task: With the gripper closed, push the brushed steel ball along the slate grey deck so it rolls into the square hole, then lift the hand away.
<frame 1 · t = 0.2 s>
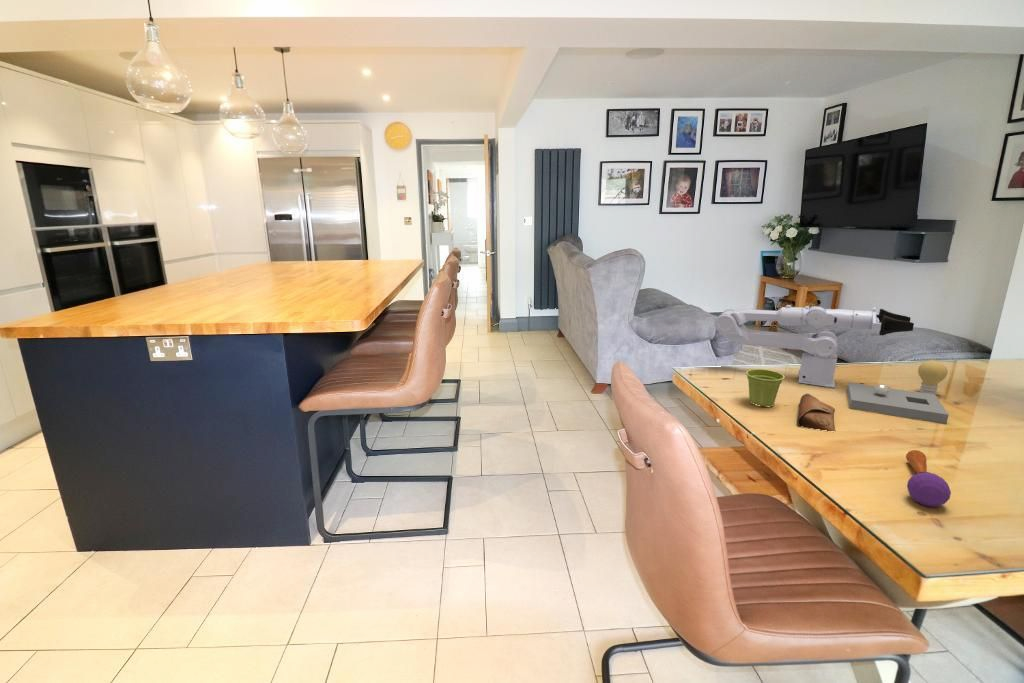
hand: (911, 323, 135), 21 cm above the table, tool horizontal, fingers open, 7 cm apart
light bulb: (927, 394, 141), on the table
hole deck: (892, 405, 132), on the table
sunglasses case: (816, 419, 126), on the table
purple maraca: (920, 487, 94), on the table
steel ball: (881, 389, 133), point 4 cm above the table, touching hole deck
plant pot: (761, 404, 135), on the table
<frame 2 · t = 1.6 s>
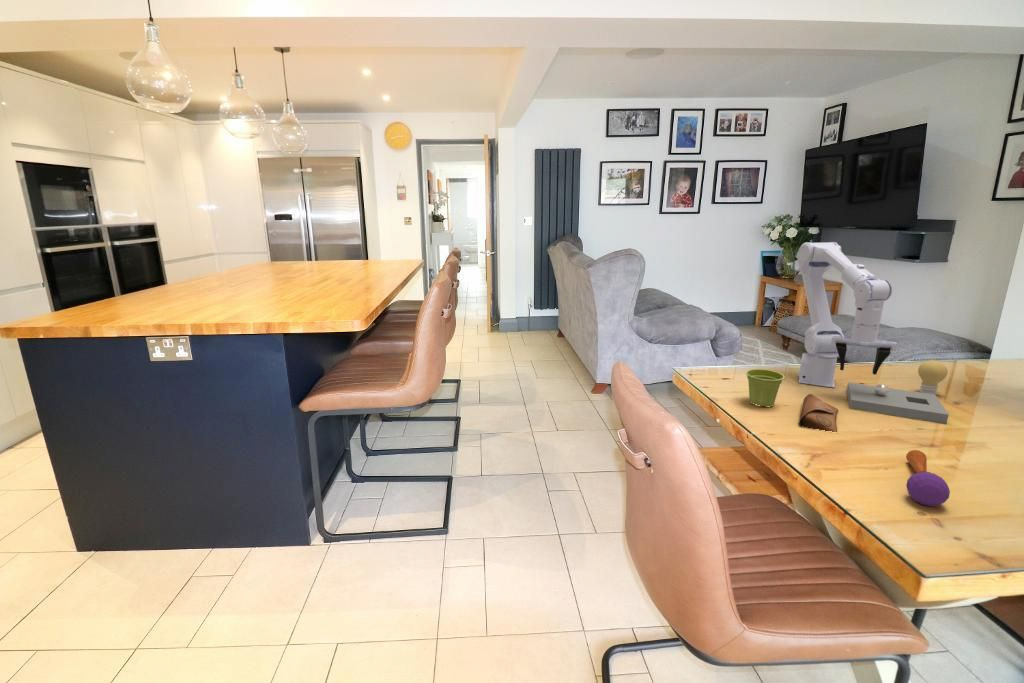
hand: (857, 371, 135), 8 cm above the table, tool pointing down, fingers open, 7 cm apart
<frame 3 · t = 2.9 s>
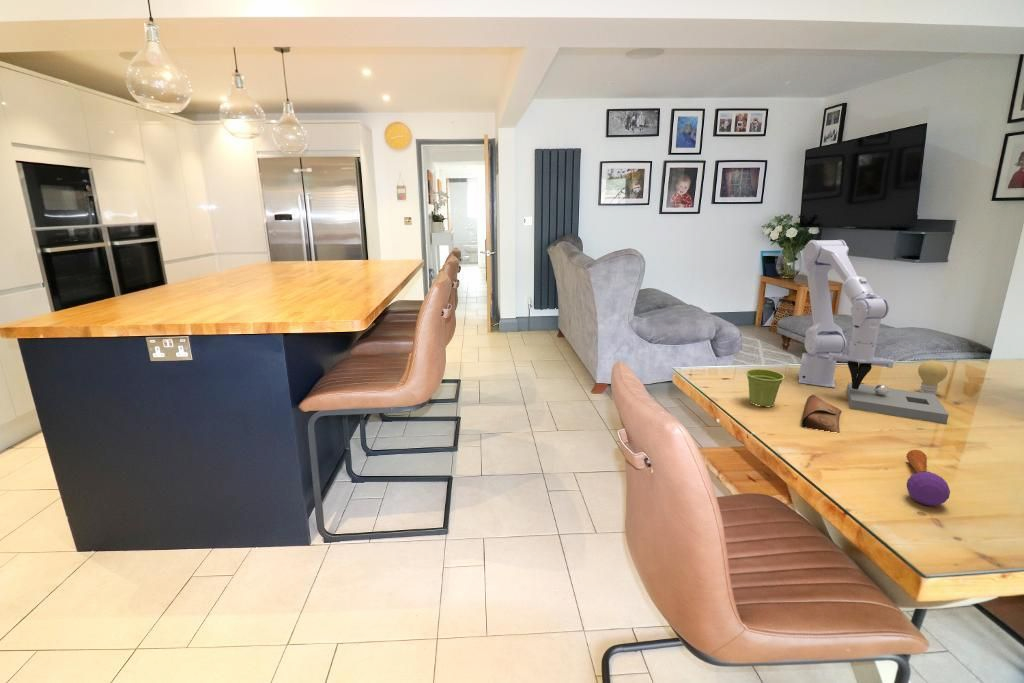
hand: (854, 387, 136), 4 cm above the table, tool pointing down, fingers closed
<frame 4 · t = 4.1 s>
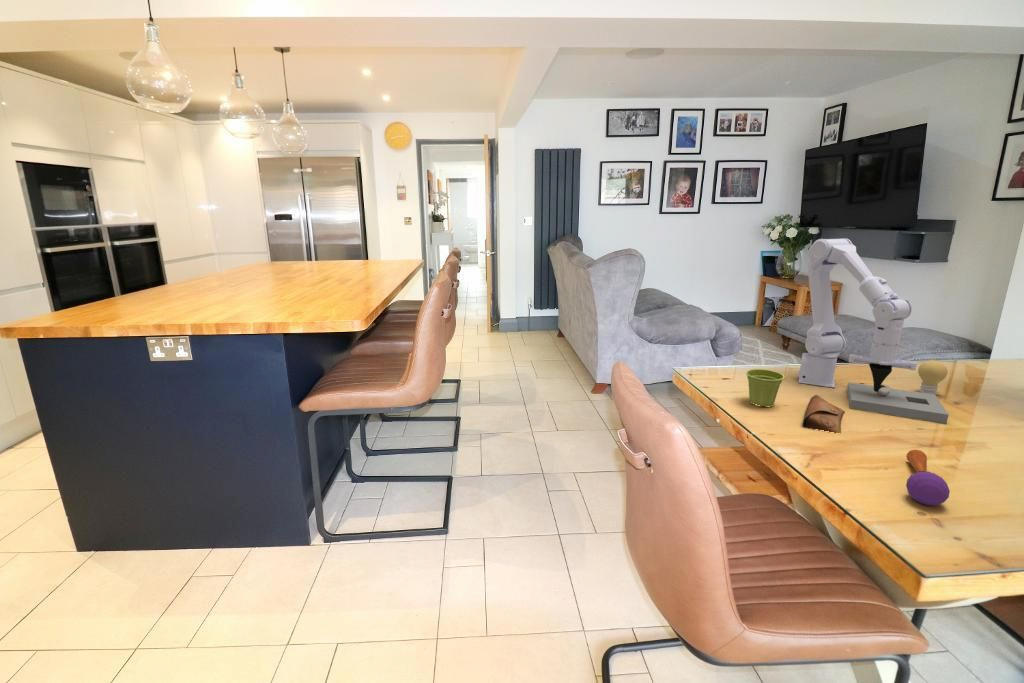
hand: (875, 390, 133), 4 cm above the table, tool pointing down, fingers closed, pressing on steel ball
steel ball: (883, 390, 133), point 4 cm above the table, tilted 14°, touching gripper, hole deck
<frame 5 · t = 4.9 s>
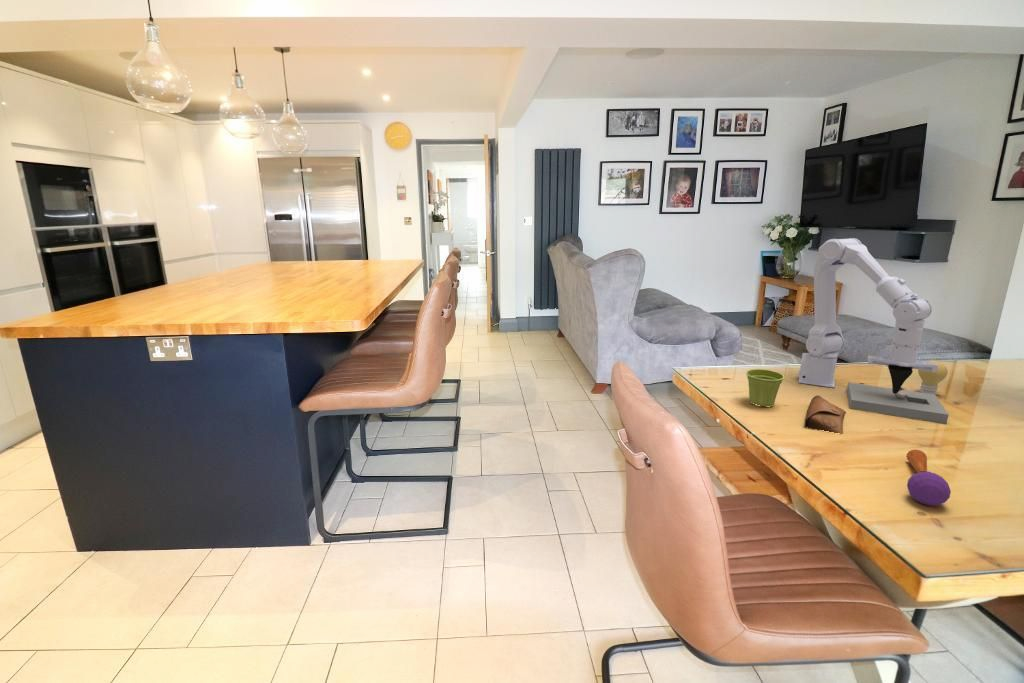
hand: (895, 392, 131), 4 cm above the table, tool pointing down, fingers closed, pressing on steel ball
steel ball: (901, 392, 131), point 4 cm above the table, tilted 157°, touching gripper, hole deck
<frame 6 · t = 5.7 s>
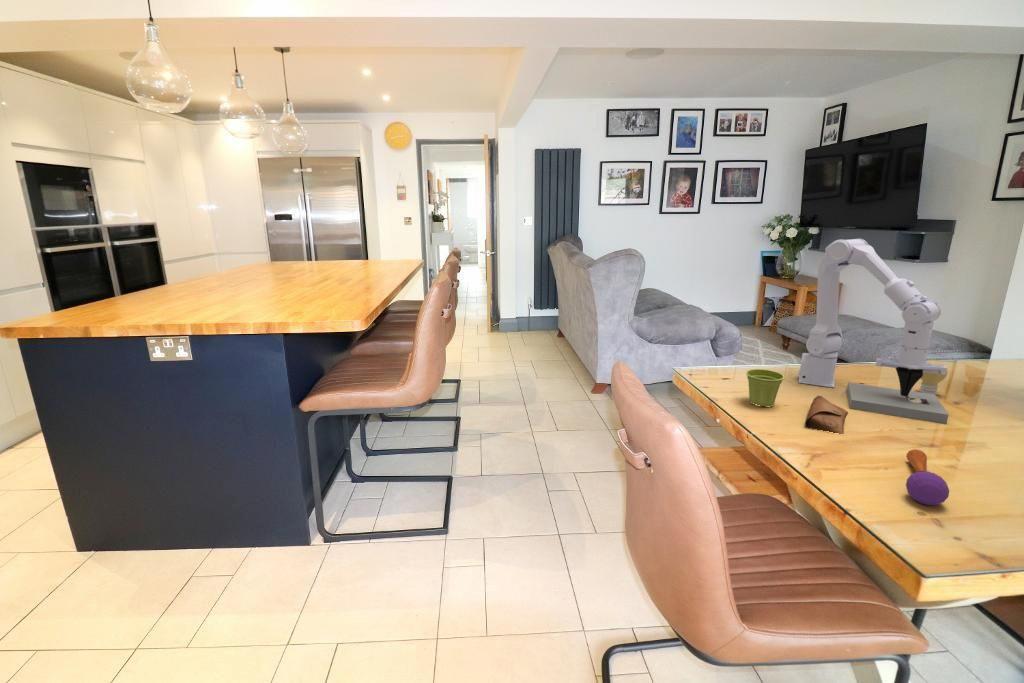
hand: (903, 395, 130), 4 cm above the table, tool pointing down, fingers closed
steel ball: (914, 402, 130), point 2 cm above the table, tilted 53°, touching hole deck
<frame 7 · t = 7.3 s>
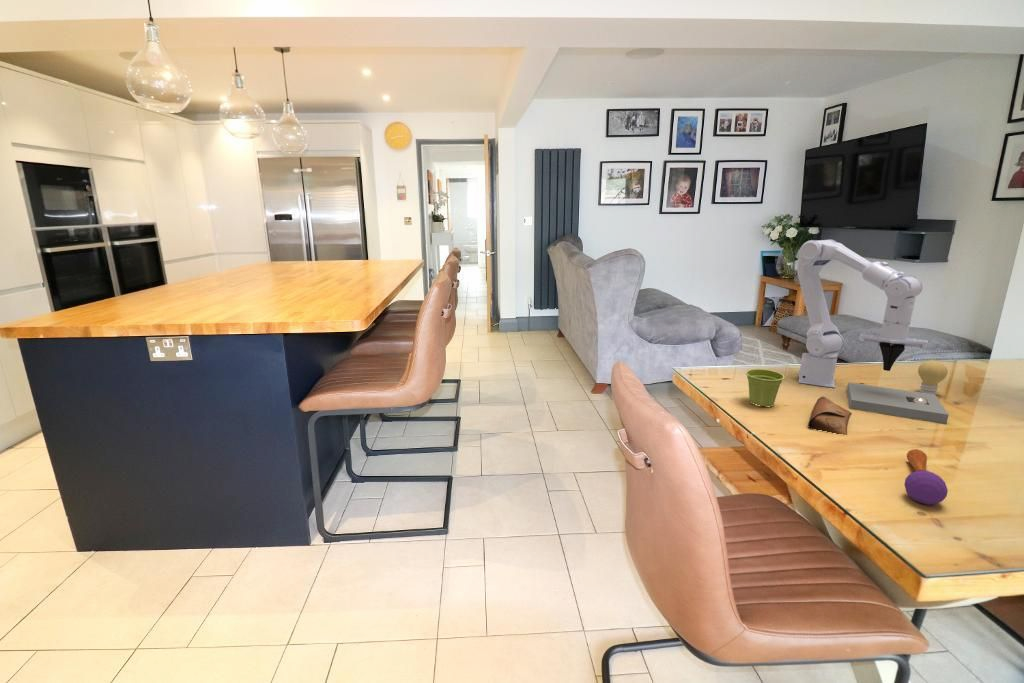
hand: (886, 369, 133), 9 cm above the table, tool pointing down, fingers closed
steel ball: (919, 403, 129), point 2 cm above the table, tilted 10°, touching hole deck
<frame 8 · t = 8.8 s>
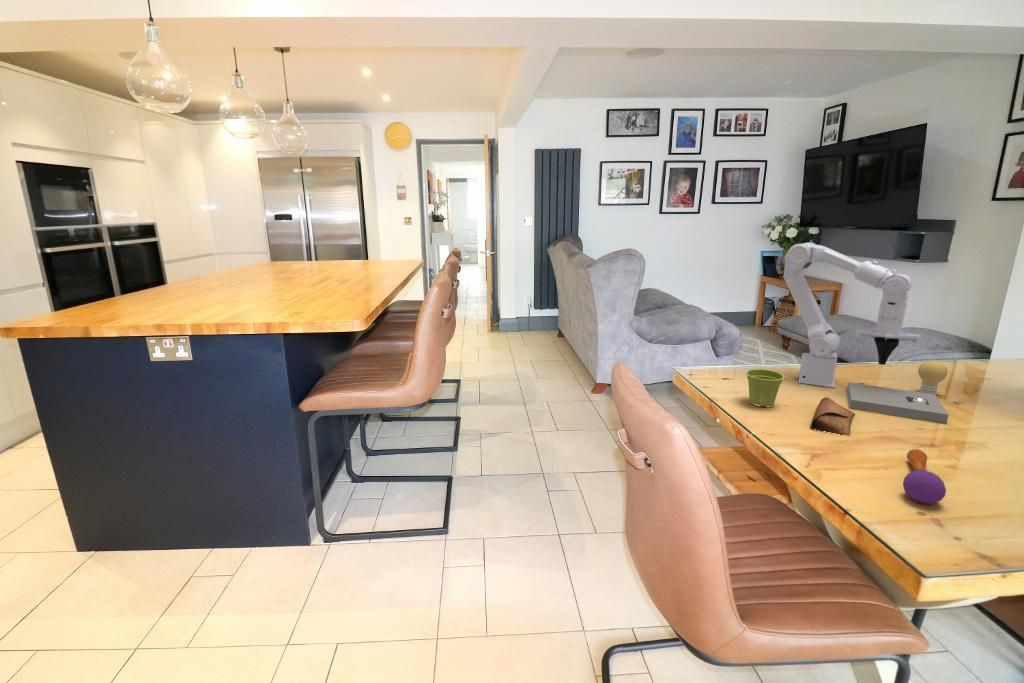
hand: (881, 363, 138), 9 cm above the table, tool pointing down, fingers closed
steel ball: (919, 403, 129), point 2 cm above the table, tilted 15°, touching hole deck
at the end: steel ball 0.5 cm from the target spot on the hole deck, point 1.8 cm above the hole deck's base; steel ball moved 8.8 cm from its start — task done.
